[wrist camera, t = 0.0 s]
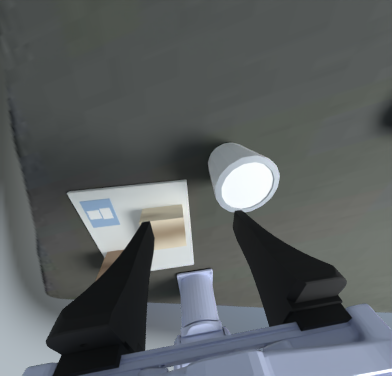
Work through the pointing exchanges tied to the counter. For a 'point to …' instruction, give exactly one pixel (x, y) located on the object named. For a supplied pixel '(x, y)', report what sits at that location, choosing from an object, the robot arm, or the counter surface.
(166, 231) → the maple base block
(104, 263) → the walnut block
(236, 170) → the white tapered cup
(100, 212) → the plate
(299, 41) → the counter surface
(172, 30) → the counter surface
